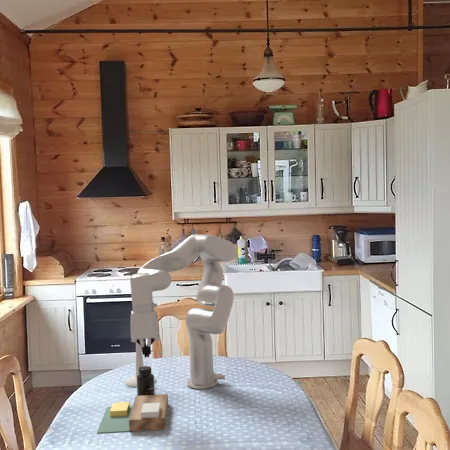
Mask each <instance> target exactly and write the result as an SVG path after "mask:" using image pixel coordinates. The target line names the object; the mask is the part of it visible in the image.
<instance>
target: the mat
mask: <svg viewBox="0 0 450 450" xmlns="http://www.w3.org/2000/svg"><path fill="white" fill-rule="evenodd" d="M111 407H112V406H107V407H106V409H105V410H104V413H103V416H102V418H101V422H100V423H99V426H98V429H97V432H96V434H111V433H127V432H131V431H130V430H129V418H130V415H131V411H132V408H133V405H130V407H129V411H128V414H127V416H114V417H110V410H111Z"/></svg>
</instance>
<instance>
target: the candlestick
mask: <svg viewBox="0 0 450 450" xmlns="http://www.w3.org/2000/svg"><path fill="white" fill-rule="evenodd" d="M143 366H145V365H144V355H143V353H142V347H141V345H139V344H138V343H136V342H135V375H132V376H130V377H128V378H127V379H125V381H124V385H125V386H126V385H127V386H126V387H128V386H129V387H128V388H132V387H137V376H138V375H139V368H140V367H143ZM156 382H157V379H156V378H155V377H154V384H156Z"/></svg>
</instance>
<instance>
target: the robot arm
mask: <svg viewBox="0 0 450 450" xmlns="http://www.w3.org/2000/svg"><path fill="white" fill-rule="evenodd" d="M236 255H237V248H236V246H235V244H234V243H233V242H232V241H230V240H227V239H225V238H222V237H219V236H216V235H214V234H213V235H212V234H202V233H201V234H200V233H194V234H191V235H190V236H188V237H187V238H185V239H184V240H183V241H182V242H181V243H179V244H178V245H177V246H176V247H175V248H173V249H172V250H171V251H168V252H166V253H164V254H162V255H161V254H160V255H159V256H157V257H154V258H152V259H150V260H149V261H147V262H146V263H145V264H143V266H142V267H140V268H139V269H138V271H137V272H136V273H135V274H132V275H131V276H130V280H129V282H130V294H131V305H132V310H131V311H130V312H131V313H130V342H131V343H135V344H136V343H138V344H139V345H141V347H142V356H143V358H145V359H146V358H150V355H152V349H151V348H152V347H151V346H152V345H153V344H154V342H157V341H160V340H161V336H160V324H159V318H158V317H159V316H158V312H157V310H156V309H155V308H157V307H158V303H155V302H154V300H153V299H154V297H153V292H159V291H163V290H164V291H165V290H166V289H168V288H169V287H170V286H171V283H172V276H171V274H170V273H172V272H177V271H182V270H184V269H186V268H187V267H188V266H189V265H190V264H192V263H193V262H194V261H195V260H196V259H197V258H198V257H200V259H201V262H202V266H203V273H202V277H201V280H200V283H199V287H198V290H197V292H196V293H197V294H196V301H197V303H198V304H199V305H201V306H204V307H209V308H213V309H209V308H202V307H193V308H192V309H190V310H189V311H187V313H186V315H185V325H186V329H187V334H188V346H189V347H188V349H189V351H188V352H189V366H190V367H189V371H190V378H189V379H188V380H187V383H186V384H187V385H186V386H188V387H189V388H190V389H194V390H205V389H206V390H207V389H211V388H214V387H216V386H217V385H218V381H219V380H225V379H226V377H225V374H223V373H215V370H214V355H213V354H214V353H213V352H214V351H213V348H214V347H213V339H212V335H221V334H223V333H224V331H225V330H226V328H227V325H228V321H229V318H230V316H231V315H230V314H231V311H232V308H233V304H234V297H235V296H234V291H233V289H232V287H230V286H228V285H227V284H222V283H223V279H224V270H223V267H222V265H221V263H229V262H232V261H234V259H235V257H236ZM145 340H147V343H145Z"/></svg>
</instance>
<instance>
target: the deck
mask: <svg viewBox="0 0 450 450" xmlns="http://www.w3.org/2000/svg"><path fill="white" fill-rule="evenodd" d="M143 403H160V413H159V417H155V418H141V410H142V406H143ZM132 406H133V408H132V411H131V415H130V418H129V430H130V432H143V430H148V431H160V430H161V431H162V430H163V431H164V430H166V426H167V425H166V424H167V418H168V417H167V416H168V409H169V394H168V393H165V394H162V393H161V394H155V395H143V396H137V395H135V398H134V401H133V405H132Z"/></svg>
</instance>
